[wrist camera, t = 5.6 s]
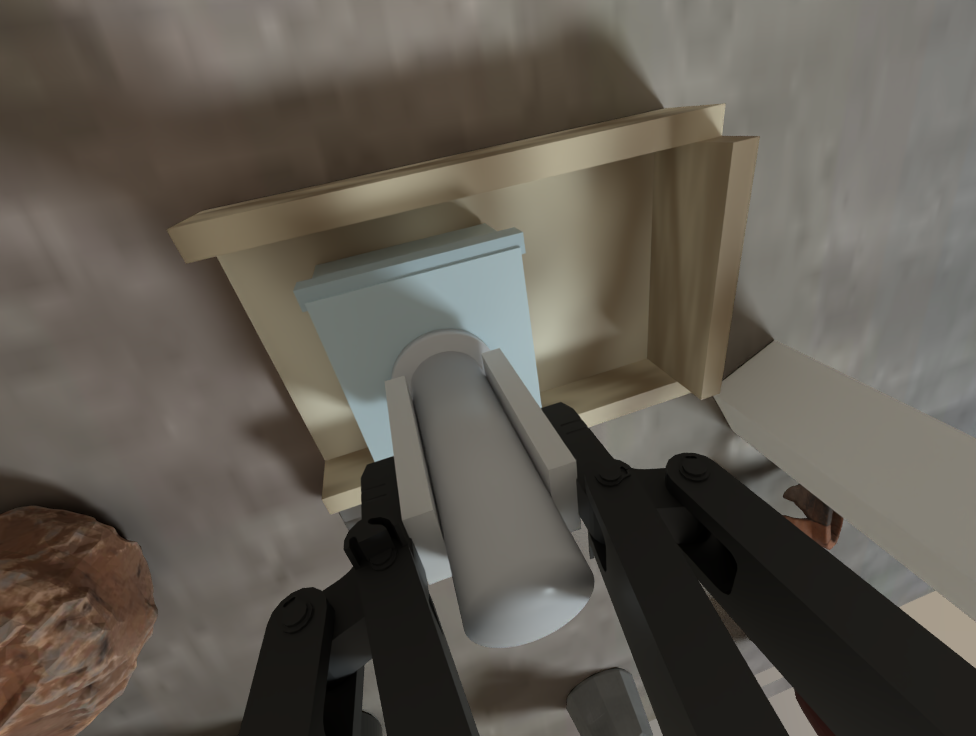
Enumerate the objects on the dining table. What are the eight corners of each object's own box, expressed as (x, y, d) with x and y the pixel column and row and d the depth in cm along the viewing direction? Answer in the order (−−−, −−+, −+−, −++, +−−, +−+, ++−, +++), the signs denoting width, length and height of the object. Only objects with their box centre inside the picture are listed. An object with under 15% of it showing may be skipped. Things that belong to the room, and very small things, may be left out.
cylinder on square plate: (377, 427, 24) (405, 764, 11) (306, 255, 18) (203, 525, 6) (516, 384, 25) (683, 642, 12) (487, 211, 19) (730, 353, 7)
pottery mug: (711, 459, 37) (828, 490, 31) (750, 418, 42) (856, 437, 36) (714, 568, 40) (820, 615, 34) (750, 516, 46) (847, 549, 40)
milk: (708, 389, 32) (1205, 751, 13) (775, 337, 31) (1404, 643, 12) (731, 431, 35) (1157, 768, 16) (792, 385, 34) (1312, 684, 16)
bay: (348, 503, 27) (347, 587, 22) (194, 212, 17) (130, 245, 12) (651, 401, 30) (710, 454, 25) (665, 108, 21) (765, 100, 16)
